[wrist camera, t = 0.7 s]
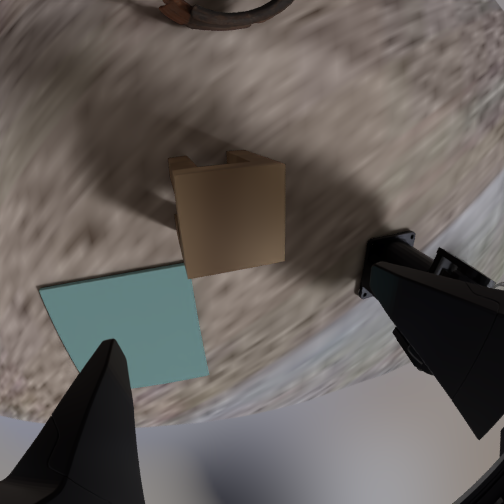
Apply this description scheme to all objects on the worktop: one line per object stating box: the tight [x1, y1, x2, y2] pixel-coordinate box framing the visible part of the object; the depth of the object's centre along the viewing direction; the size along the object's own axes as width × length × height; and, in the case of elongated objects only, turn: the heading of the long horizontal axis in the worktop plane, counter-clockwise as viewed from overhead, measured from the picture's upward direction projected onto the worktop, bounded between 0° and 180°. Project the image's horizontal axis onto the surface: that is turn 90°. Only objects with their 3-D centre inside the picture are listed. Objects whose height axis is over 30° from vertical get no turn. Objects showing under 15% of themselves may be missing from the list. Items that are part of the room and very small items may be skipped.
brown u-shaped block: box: [168, 150, 285, 279], centre depth 16 cm, size 5×5×7 cm
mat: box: [39, 263, 209, 388], centre depth 22 cm, size 12×12×1 cm
